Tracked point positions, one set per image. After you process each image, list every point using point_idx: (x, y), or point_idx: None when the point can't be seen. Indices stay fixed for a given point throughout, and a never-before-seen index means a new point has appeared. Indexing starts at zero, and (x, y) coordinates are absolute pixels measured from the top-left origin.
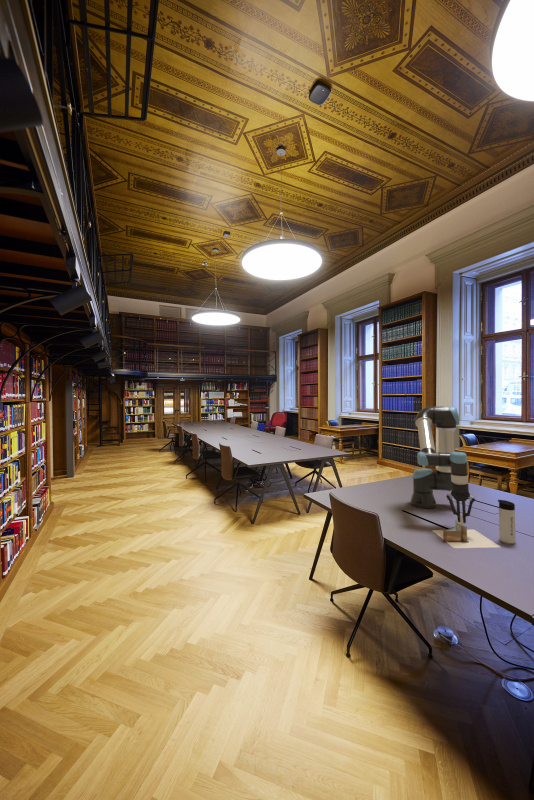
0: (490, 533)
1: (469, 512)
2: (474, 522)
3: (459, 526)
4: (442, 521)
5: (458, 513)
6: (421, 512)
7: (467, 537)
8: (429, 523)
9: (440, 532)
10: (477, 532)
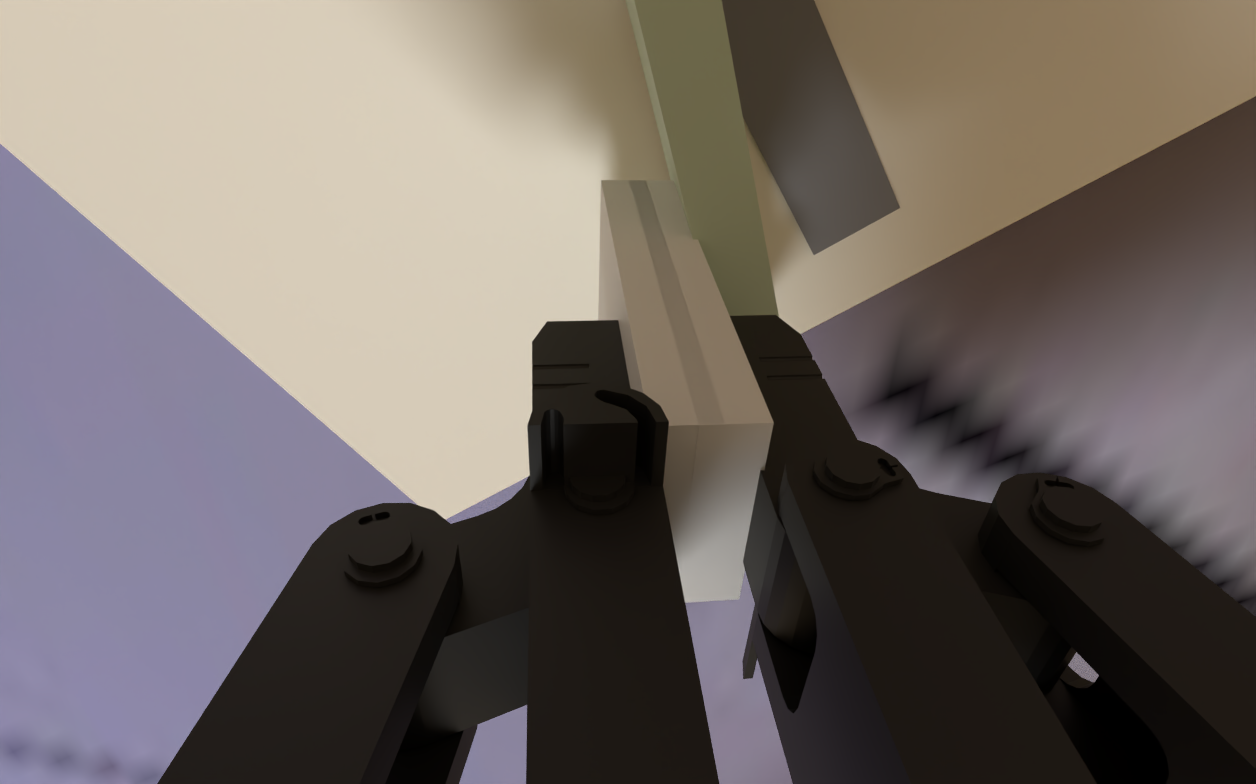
0: (178, 518)
1: (245, 728)
2: (478, 745)
3: (736, 87)
4: None
5: (886, 545)
6: None
7: (499, 17)
8: (1161, 459)
9: (1136, 21)
10: (356, 426)
